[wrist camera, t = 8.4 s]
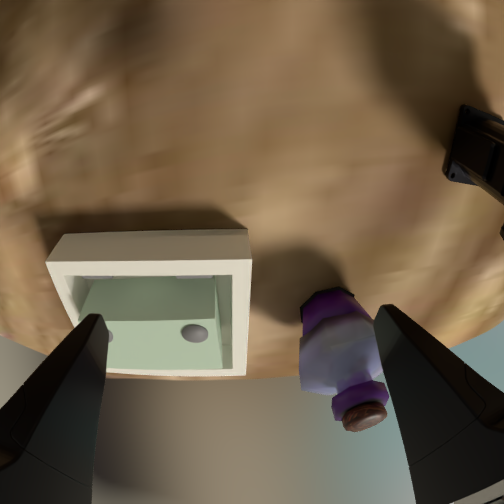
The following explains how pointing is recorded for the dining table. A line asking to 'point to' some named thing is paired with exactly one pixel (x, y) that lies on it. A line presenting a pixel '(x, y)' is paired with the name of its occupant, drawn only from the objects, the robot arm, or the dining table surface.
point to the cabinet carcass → (163, 265)
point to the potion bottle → (342, 358)
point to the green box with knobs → (159, 322)
